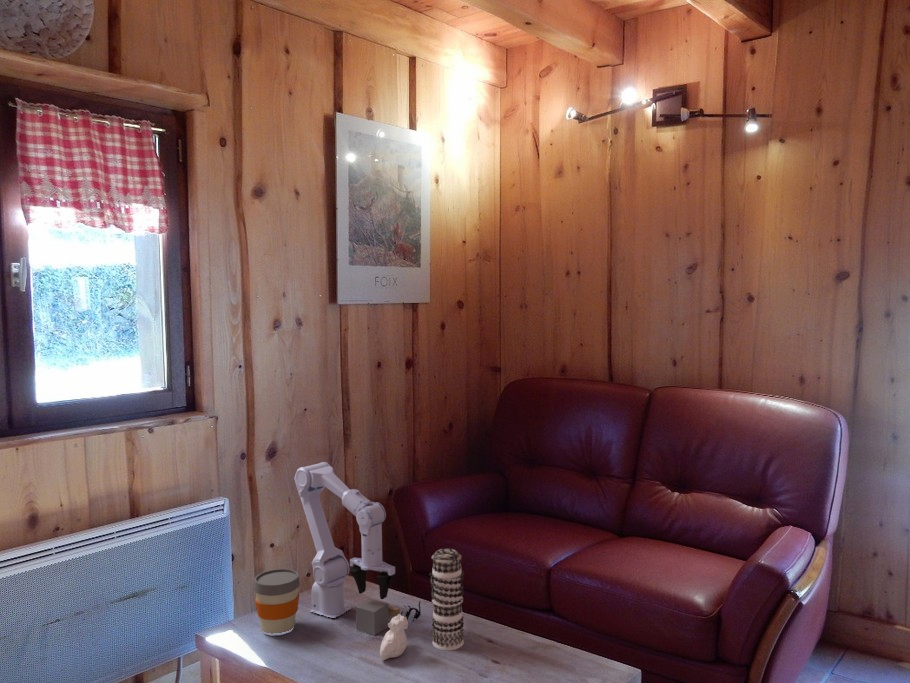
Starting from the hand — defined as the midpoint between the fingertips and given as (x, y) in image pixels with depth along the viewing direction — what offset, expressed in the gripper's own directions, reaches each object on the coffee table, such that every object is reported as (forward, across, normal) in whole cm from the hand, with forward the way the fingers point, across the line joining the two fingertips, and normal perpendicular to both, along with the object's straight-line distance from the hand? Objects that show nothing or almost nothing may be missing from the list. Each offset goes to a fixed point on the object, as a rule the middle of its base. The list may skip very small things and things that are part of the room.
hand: (372, 595), depth 198 cm
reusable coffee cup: (+10, -23, -14) cm, 29 cm away
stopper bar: (+9, -2, +8) cm, 13 cm away
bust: (+10, +14, -9) cm, 19 cm away
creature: (+10, +6, +8) cm, 14 cm away
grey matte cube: (+9, 0, 0) cm, 9 cm away
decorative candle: (+10, +23, +3) cm, 25 cm away
